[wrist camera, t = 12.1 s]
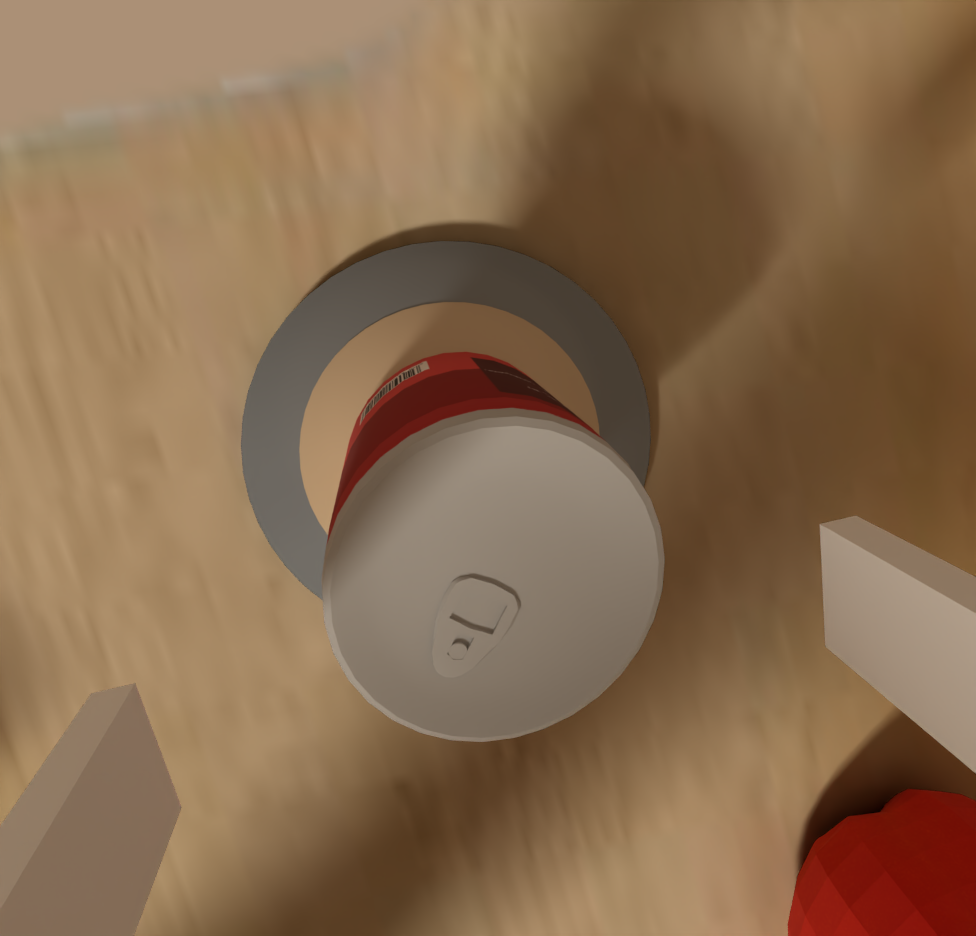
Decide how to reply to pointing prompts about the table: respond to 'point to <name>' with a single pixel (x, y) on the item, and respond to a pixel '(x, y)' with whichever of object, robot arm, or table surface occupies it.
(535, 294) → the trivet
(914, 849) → the tomato
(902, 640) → the robot arm
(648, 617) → the canned food
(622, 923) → the table surface
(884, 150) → the table surface
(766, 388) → the table surface
